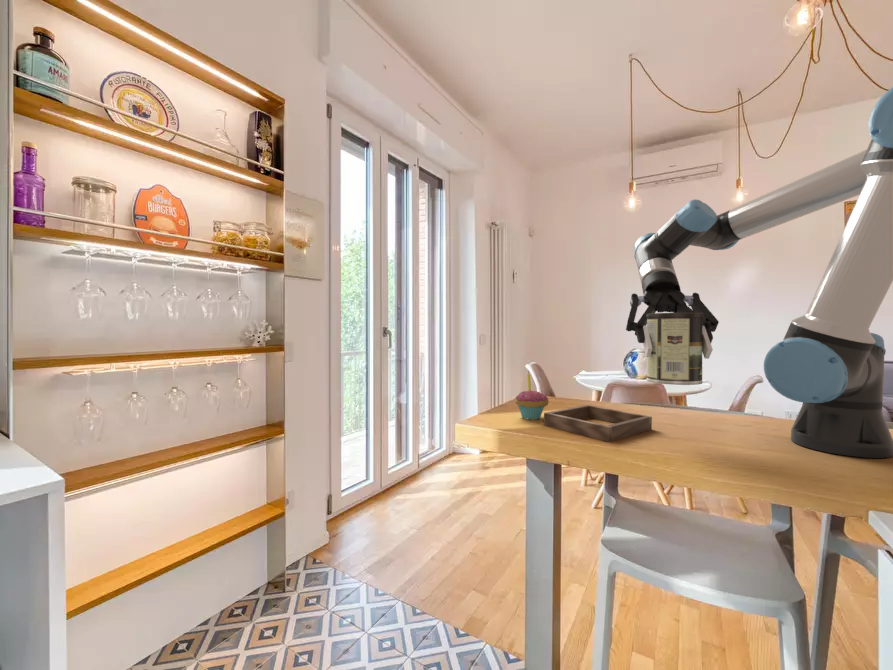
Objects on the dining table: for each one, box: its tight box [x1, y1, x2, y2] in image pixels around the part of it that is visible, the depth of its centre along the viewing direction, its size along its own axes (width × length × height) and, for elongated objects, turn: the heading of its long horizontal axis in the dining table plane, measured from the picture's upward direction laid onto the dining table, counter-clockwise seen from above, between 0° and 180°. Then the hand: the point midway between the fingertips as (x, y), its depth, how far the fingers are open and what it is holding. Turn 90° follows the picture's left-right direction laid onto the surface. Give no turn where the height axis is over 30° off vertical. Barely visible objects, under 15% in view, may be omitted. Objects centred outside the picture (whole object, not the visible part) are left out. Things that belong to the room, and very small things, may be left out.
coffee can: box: [646, 312, 704, 386], centre depth 86 cm, size 10×10×14 cm
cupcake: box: [514, 370, 550, 420], centre depth 109 cm, size 9×8×12 cm
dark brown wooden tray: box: [543, 404, 653, 443], centre depth 99 cm, size 17×17×3 cm
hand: (678, 353), depth 83 cm, fingers closed on coffee can, 10 cm apart
